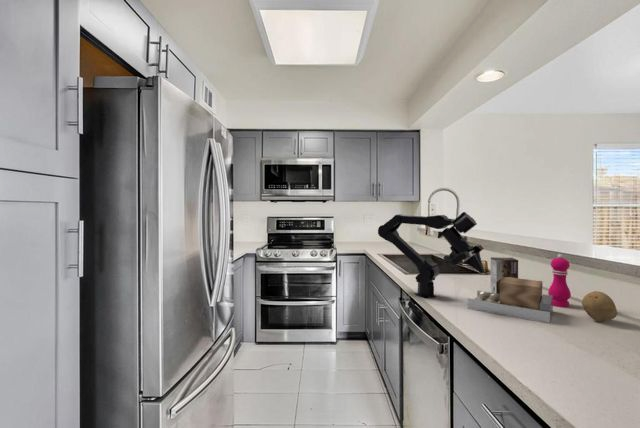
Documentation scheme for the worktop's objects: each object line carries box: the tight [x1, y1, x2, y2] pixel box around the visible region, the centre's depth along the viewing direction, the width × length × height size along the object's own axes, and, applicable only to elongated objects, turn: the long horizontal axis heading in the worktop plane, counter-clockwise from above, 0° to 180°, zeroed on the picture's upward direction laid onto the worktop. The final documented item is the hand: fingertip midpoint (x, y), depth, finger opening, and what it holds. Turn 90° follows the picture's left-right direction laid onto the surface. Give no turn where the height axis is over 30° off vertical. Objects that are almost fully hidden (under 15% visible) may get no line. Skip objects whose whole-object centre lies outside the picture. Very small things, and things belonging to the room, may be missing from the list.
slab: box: [500, 277, 543, 310], centre depth 122 cm, size 12×12×8 cm
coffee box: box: [489, 256, 519, 294], centre depth 145 cm, size 9×6×16 cm
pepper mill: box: [547, 253, 572, 308], centre depth 131 cm, size 7×7×20 cm
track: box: [467, 290, 554, 324], centre depth 125 cm, size 26×16×6 cm, turn 52°
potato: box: [581, 290, 618, 323], centre depth 113 cm, size 9×9×10 cm
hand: (483, 272), depth 130 cm, fingers closed
